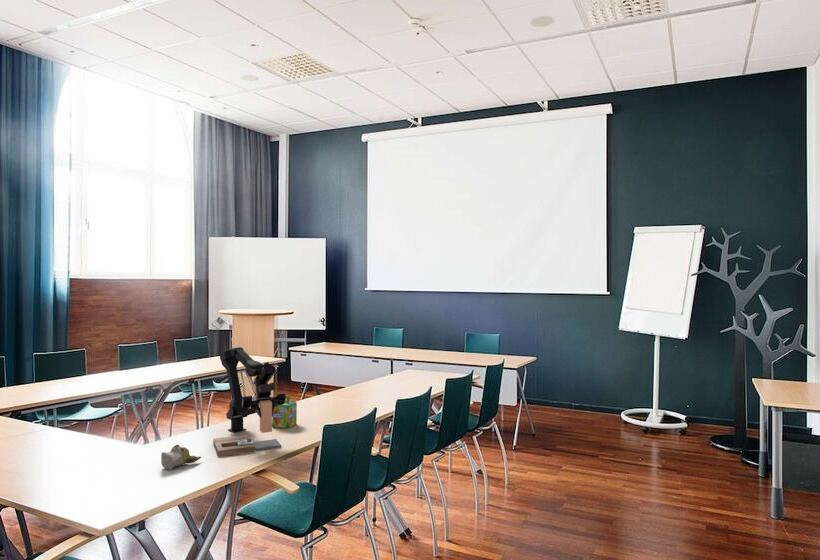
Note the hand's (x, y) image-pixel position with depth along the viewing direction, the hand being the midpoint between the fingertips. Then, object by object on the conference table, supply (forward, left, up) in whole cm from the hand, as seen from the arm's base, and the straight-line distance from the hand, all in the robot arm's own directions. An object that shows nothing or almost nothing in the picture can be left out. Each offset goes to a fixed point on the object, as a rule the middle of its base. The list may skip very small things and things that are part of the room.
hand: (266, 416), depth 253 cm
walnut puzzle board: (-9, -11, -13) cm, 19 cm away
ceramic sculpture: (-2, -38, -14) cm, 40 cm away
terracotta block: (-1, 0, -7) cm, 7 cm away
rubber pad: (-1, 0, -13) cm, 13 cm away
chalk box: (-26, +25, -13) cm, 38 cm away
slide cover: (-4, -8, -11) cm, 14 cm away
